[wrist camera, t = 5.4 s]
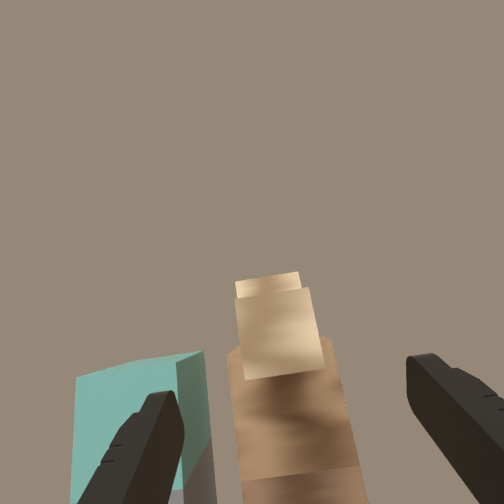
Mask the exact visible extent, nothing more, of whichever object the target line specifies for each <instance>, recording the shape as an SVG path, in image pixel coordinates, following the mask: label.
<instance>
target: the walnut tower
mask: <svg viewBox="0 0 504 504" xmlns="http://www.w3.org/2000/svg"><path fill="white" fill-rule="evenodd" d="M319 339H320V344H321V348H322V353H323V358H324V362H325V367H326V369H319V370H312V371H305V372H299V373H292V374H285V375H278V376H271V377H264V378H258V379H251V380H245V378H244V370H243V362H242V354H241V346H240V345H239V346H238V347H237V348H235V349H234V350H233V351H231V352H230V353H229V354H227V360H228V369H229V378H230V387H231V397H232V406H233V414H234V423H235V433H236V442H237V450H238V460H239V468H240V478H241V487H242V495H243V504H369V503H368V499H367V495H366V490H365V486H364V481H363V478H362V473H361V468H360V464H359V459H358V455H357V450H356V446H355V442H354V437H353V433H352V428H351V424H350V420H349V415H348V411H347V407H346V402H345V398H344V393H343V389H342V384H341V380H340V376H339V371H338V367H337V362H336V358H335V353H334V349H333V345H332V340H331V339H330V338H326V337H323V336H320V335H319Z"/></svg>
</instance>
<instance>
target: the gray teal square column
mask: <svg viewBox="0 0 504 504" xmlns="http://www.w3.org/2000/svg"><path fill="white" fill-rule="evenodd" d="M168 390H172V391H174V393H175V396H176V399H177V403H178V406H179V409H180V413H181V416H182V420H183V423H184V429H185V438H184V445H183V449H182V453H181V457H180V461H179V464H178V468H177V472H176V476H175V479H174V483H173V487H172V491H171V494H170V498H169V502H168V504H217V497H216V486H215V475H214V463H213V451H212V439H211V428H210V417H209V406H208V405H209V404H208V393H207V381H206V370H205V359H204V351H197V352H191V353H184V354H178V355H171V356H165V357H158V358H152V359H145V360H139V361H133V362H129V363H125V364H122V365H118V366H115V367H111V368H108V369H105V370H101V371H98V372H94V373H90V374H87V375H84V376H80V377H77V378H76V395H75V414H74V435H73V456H72V474H71V495H70V504H77V503H78V501H79V499H80V497H81V496H82V494H83V492H84V490H85V488H86V487H87V485H88V483H89V481H90V479H91V478H92V476H93V474H94V472H95V470H96V469H97V467H98V466H100V461H101V460H102V458H103V456H104V454H105V453H106V451H107V450H108V449H109V445H110V444H111V442H112V440H113V438H114V436H115V435H116V433H117V431H118V429H119V428H120V427H121V426H122V425H123V423H124V422H125V421H126V420H127V419H128V418H129V417H130V416H131V415H132V414H133V413H136V412H139V411H140V409H141V407H142V405H143V403H144V401H145V399H146V397H147V396H148V395H149V394H150V393H155V392H161V391H168Z"/></svg>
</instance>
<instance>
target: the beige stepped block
mask: <svg viewBox="0 0 504 504" xmlns="http://www.w3.org/2000/svg"><path fill="white" fill-rule="evenodd" d="M235 283H236V290H237V299H235V307H236V314H237V322H238V330H239V337H240V346H241V354H242V362H243V370H244V378H245V380H251V379H258V378H264V377H271V376H278V375H285V374H292V373H299V372H305V371H312V370H319V369H326V367H325V362H324V358H323V353H322V348H321V344H320V339H319V335H318V330H317V325H316V321H315V316H314V311H313V307H312V302H311V297H310V292H309V288H308V287H306V288H301V283H300V278H299V274H298V272H292V273H286V274H280V275H273V276H268V277H261V278H256V279H249V280H243V281H237V282H235Z"/></svg>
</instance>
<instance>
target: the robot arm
mask: <svg viewBox="0 0 504 504" xmlns="http://www.w3.org/2000/svg"><path fill="white" fill-rule="evenodd" d="M406 378H407V398H408V401H409V404H410V407H411V409H412V411H413V413H414V414H415V416H416V417H417V418H418V420H419V421H420V423H421V424H422V425H423V427H424V428H425V430H426V431H427V432H428V434H429V435H430V436H431V438H432V439H433V440H434V442H435V443H436V445H437V446H438V447H439V449H440V450H441V452H442V453H443V454H444V456H445V457H446V458H447V459H448V461H449V462H450V464H451V465H452V467H453V468H454V469H455V471H456V472H457V473H458V475H459V476H460V477H461V479H462V480H463V482H464V483H465V484H466V486H467V487H468V488H469V490H470V491H471V492H472V494H473V495H474V497H475V498H476V500H477V501H478V502H479V503H480V504H504V399H503V398H501V397H498V395H497V394H496V393H495V392H494V391H493V390H492V389H491V388H489V387H488V386H487V385H486V384H484V383H483V382H482V381H481V380H480V379H478V378H476V377H474V376H472V375H470V374H468V373H467V372H465V371H463V370H461V369H459V368H451V367H450V366H448V365H447V364H446V363H445V362H444V361H443V360H442V359H440V358H439V357H438V356H437V355H435V354H433V353H429V354H422V355H415V356H409V357H407V360H406ZM184 438H185V429H184V423H183V420H182V416H181V413H180V409H179V406H178V403H177V399H176V396H175V393H174V391H172V390H168V391H161V392H155V393H150V394H149V395H148V396H147V397H146V399H145V401H144V403H143V405H142V407H141V409H140V411H139V412H136V413H133V414H132V415H131V416H130V417H129V418H128V419H127V420H126V421H125V422H124V423H123V425H122V426H121V427H120V428H119V429H118V431H117V433H116V435H115V436H114V438H113V440H112V442H111V444H110V445H109V449H108V450H107V451H106V453H105V454H104V456H103V458H102V460H101V461H100V466H98V467H97V469H96V470H95V472H94V474H93V476H92V478H91V479H90V481H89V483H88V485H87V487H86V488H85V490H84V492H83V494H82V496H81V497H80V499H79V501H78V503H77V504H168V502H169V498H170V494H171V491H172V487H173V483H174V479H175V476H176V472H177V468H178V464H179V461H180V457H181V453H182V449H183V445H184Z"/></svg>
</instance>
